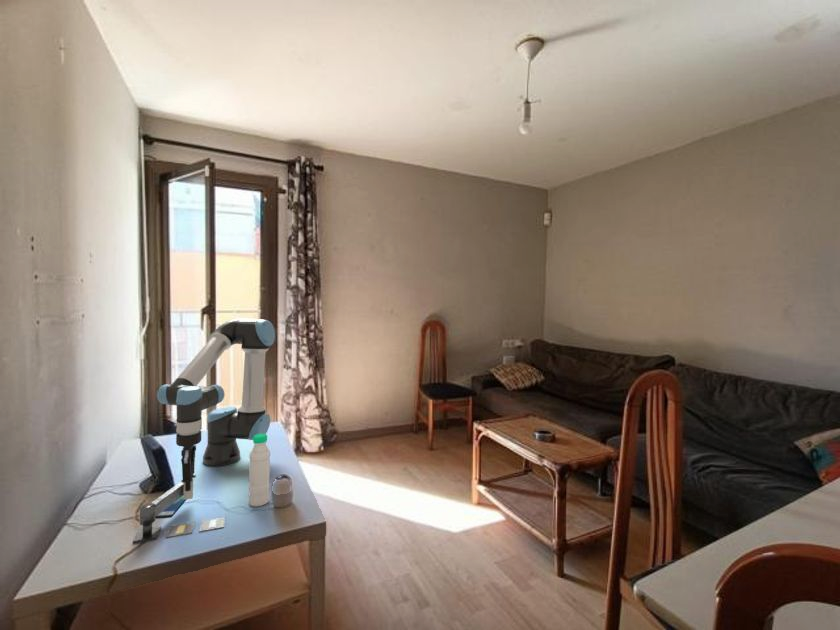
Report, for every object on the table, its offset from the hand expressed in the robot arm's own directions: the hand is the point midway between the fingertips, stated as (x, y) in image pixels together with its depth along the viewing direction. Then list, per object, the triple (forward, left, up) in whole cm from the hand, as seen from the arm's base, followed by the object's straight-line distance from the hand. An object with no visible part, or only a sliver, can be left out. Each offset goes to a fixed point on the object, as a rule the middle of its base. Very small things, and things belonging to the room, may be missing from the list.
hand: (188, 498), depth 134 cm
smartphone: (-4, -6, -5) cm, 9 cm away
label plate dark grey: (+13, +9, -4) cm, 16 cm away
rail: (+5, -5, +1) cm, 7 cm away
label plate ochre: (+13, 0, -4) cm, 13 cm away
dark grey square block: (+13, -9, -4) cm, 16 cm away
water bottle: (+3, +23, -4) cm, 23 cm away
